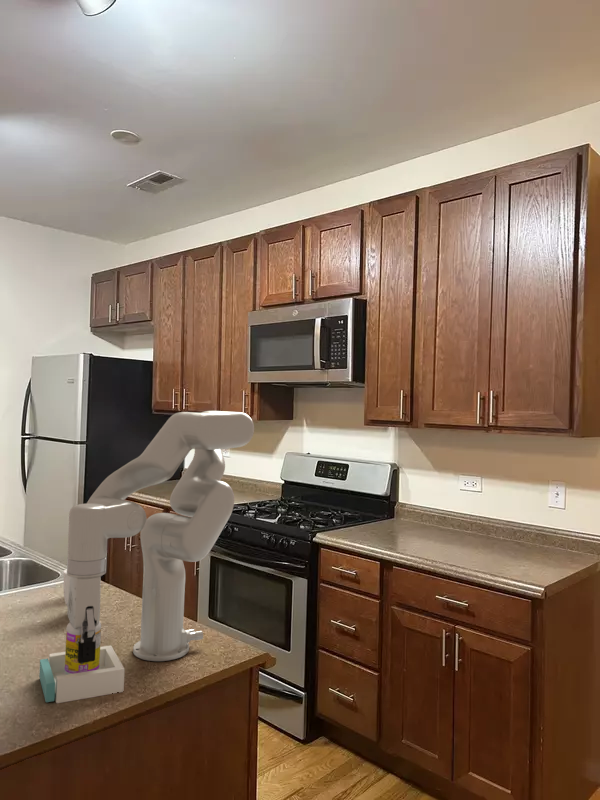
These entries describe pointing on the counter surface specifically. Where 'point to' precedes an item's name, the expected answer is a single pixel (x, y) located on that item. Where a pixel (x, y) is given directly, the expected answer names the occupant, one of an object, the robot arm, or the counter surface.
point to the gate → (47, 680)
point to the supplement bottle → (72, 651)
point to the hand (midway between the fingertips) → (83, 653)
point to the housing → (87, 677)
